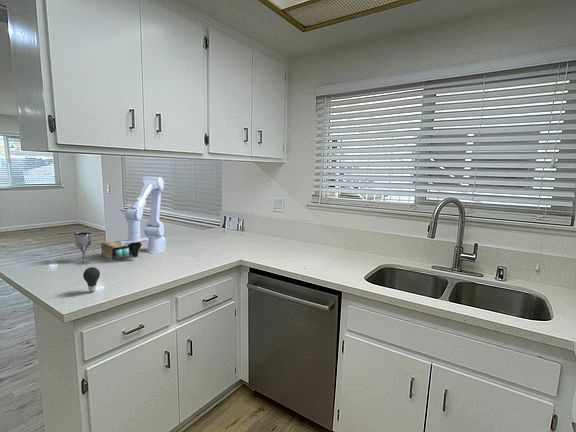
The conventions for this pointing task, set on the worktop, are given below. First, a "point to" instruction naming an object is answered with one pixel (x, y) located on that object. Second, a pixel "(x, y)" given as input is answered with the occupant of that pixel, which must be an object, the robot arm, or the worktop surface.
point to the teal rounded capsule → (118, 253)
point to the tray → (123, 256)
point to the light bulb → (91, 277)
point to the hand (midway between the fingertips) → (135, 256)
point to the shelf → (112, 248)
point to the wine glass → (82, 244)
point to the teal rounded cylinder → (125, 251)
